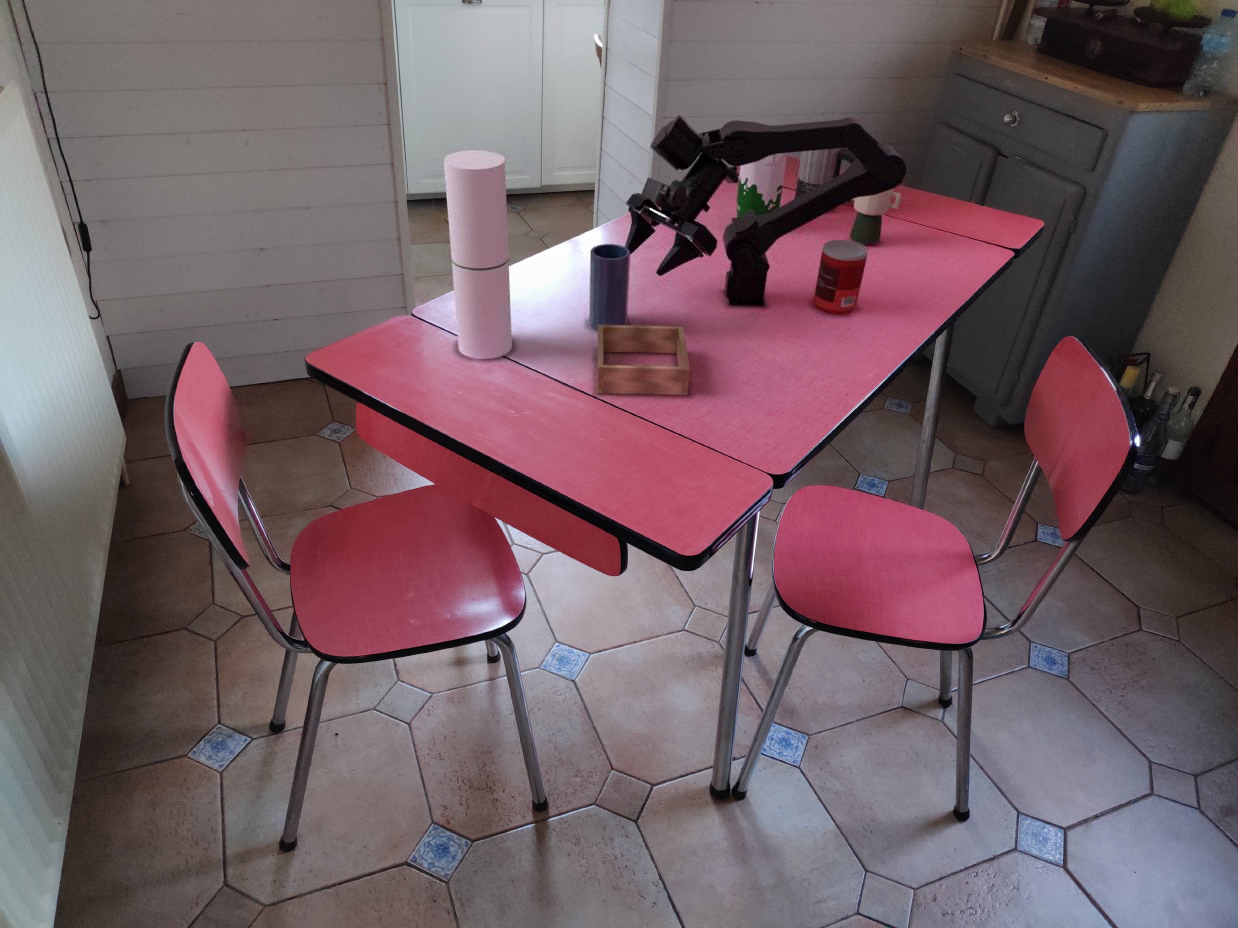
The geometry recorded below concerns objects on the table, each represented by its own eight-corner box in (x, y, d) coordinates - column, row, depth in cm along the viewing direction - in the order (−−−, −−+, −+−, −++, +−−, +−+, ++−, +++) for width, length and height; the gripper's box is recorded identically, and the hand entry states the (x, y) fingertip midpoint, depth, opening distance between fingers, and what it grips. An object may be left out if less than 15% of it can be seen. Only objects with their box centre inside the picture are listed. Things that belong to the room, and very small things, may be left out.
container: (460, 333, 147) (446, 150, 129) (512, 333, 148) (505, 150, 130) (456, 359, 140) (441, 169, 123) (511, 359, 141) (504, 169, 123)
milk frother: (791, 211, 199) (801, 143, 190) (792, 188, 212) (802, 123, 203) (855, 217, 197) (869, 149, 189) (852, 193, 210) (865, 129, 201)
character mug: (894, 241, 187) (908, 180, 179) (884, 252, 182) (899, 189, 174) (844, 230, 191) (855, 169, 183) (833, 241, 186) (845, 179, 178)
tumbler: (631, 318, 154) (634, 247, 146) (620, 335, 149) (623, 262, 141) (596, 312, 155) (597, 241, 147) (584, 328, 150) (585, 256, 143)
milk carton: (732, 217, 195) (743, 123, 183) (773, 219, 195) (786, 125, 183) (735, 232, 187) (747, 135, 176) (778, 234, 188) (792, 137, 176)
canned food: (860, 301, 162) (872, 244, 156) (850, 319, 156) (862, 260, 150) (819, 292, 165) (829, 236, 158) (807, 309, 159) (818, 251, 152)
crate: (680, 351, 145) (682, 326, 142) (687, 395, 134) (689, 369, 131) (597, 349, 145) (598, 324, 142) (597, 393, 134) (598, 367, 131)
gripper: (637, 144, 148) (582, 221, 149) (710, 176, 136) (650, 259, 138) (670, 183, 157) (618, 255, 158) (742, 216, 145) (685, 294, 146)
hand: (641, 265), depth 150 cm, fingers open, 9 cm apart
